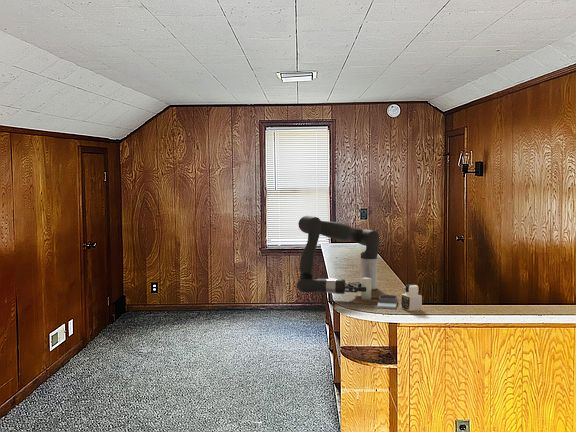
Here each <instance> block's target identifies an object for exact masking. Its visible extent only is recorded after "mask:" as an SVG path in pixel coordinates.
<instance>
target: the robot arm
mask: <svg viewBox="0 0 576 432" xmlns="http://www.w3.org/2000/svg"><path fill="white" fill-rule="evenodd" d="M298 228H299V230H300V231H301V232H302V233H305V234H307V236H308V237H307V242H306V244H305V246H304V249H303V250H302V253H301V256H300V260H299V261H300V262H299V272H300V275H299V280H297V282H296V288H297V290H298V291H299V292H301V293H324V294H325V293H327V294H335V295H336V294H337V295H344V294H345V293H359V292H360V293H361V292H366V287H361V283H362V278H371V291H372V290H376V289H378V288H377V287H378V286H377V285H378V255H379V250H380V236H379V235H380V234H379V232H378V231H377V230H373V229H369V228H368V229H366V228H355V227H352V226H350V225H349V224H346V223H344V222H343V223H341V222H339V221H328V220H327V221H326V220H321V218H319V217H317V216H313V215H305V216H302V217H300V218H299V221H298ZM320 236H322V237H327V238H331V239H334V240H337V241H341V242H342V241H343V242H349V241H350V242H353V243H356V244H359V245H362V246H365V250H364V251H363V252H361V253H360V281H348V282H347V283H346V280H345V279H344V278H317V279H313V272H314V271H313V270H314V263H315V255H316V251H317V246H318V242H319V237H320Z"/></svg>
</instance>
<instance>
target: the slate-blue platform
mask: <svg viewBox="0 0 576 432" xmlns="http://www.w3.org/2000/svg"><path fill="white" fill-rule="evenodd" d="M397 304H398V303H380V302H379V301H378V302H377V304H376V308H377V309H390V310H396V309H397Z"/></svg>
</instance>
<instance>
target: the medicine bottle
mask: <svg viewBox="0 0 576 432" xmlns="http://www.w3.org/2000/svg"><path fill="white" fill-rule="evenodd" d="M422 304H423V296H422V295H421V294H419V285H417V284H416V283H415V284H414V283H413V284H411V283H410V284H409V283H408V284H406V285H405V293H401V309H403V310H404V311H407V312H415V311H416V312H417V311H422V310H423V305H422Z"/></svg>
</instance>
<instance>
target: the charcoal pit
mask: <svg viewBox="0 0 576 432" xmlns="http://www.w3.org/2000/svg"><path fill="white" fill-rule="evenodd" d="M378 297H379V301H378V302H380V303H397V302H398V295H393V294H379V296H378ZM397 304H398V303H397Z"/></svg>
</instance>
